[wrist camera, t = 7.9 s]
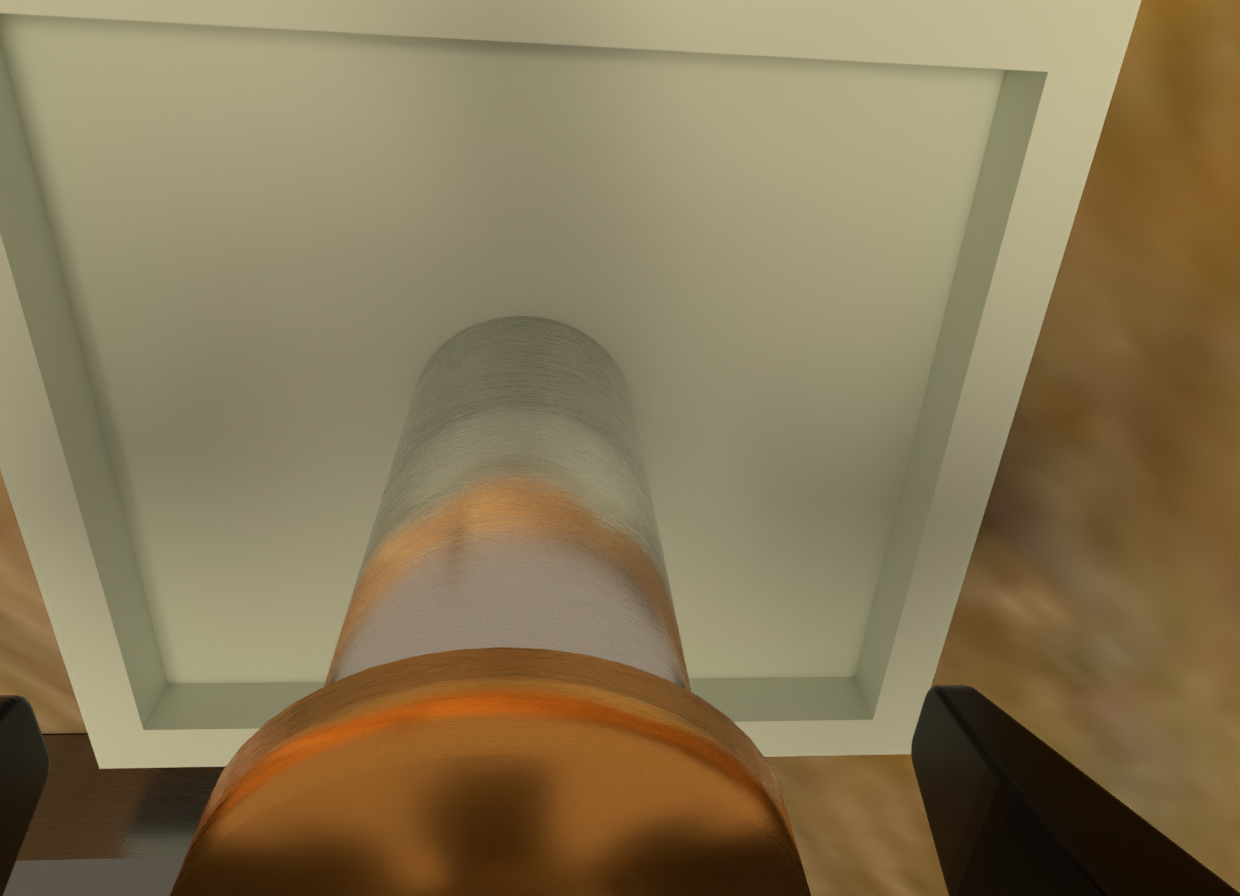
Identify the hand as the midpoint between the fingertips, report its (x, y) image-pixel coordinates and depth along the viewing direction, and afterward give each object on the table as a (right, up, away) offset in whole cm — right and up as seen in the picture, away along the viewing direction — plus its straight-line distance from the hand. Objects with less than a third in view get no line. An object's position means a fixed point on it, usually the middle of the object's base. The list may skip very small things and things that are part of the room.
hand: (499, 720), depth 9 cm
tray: (0, +4, +7) cm, 8 cm away
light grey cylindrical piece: (0, +3, +6) cm, 7 cm away
